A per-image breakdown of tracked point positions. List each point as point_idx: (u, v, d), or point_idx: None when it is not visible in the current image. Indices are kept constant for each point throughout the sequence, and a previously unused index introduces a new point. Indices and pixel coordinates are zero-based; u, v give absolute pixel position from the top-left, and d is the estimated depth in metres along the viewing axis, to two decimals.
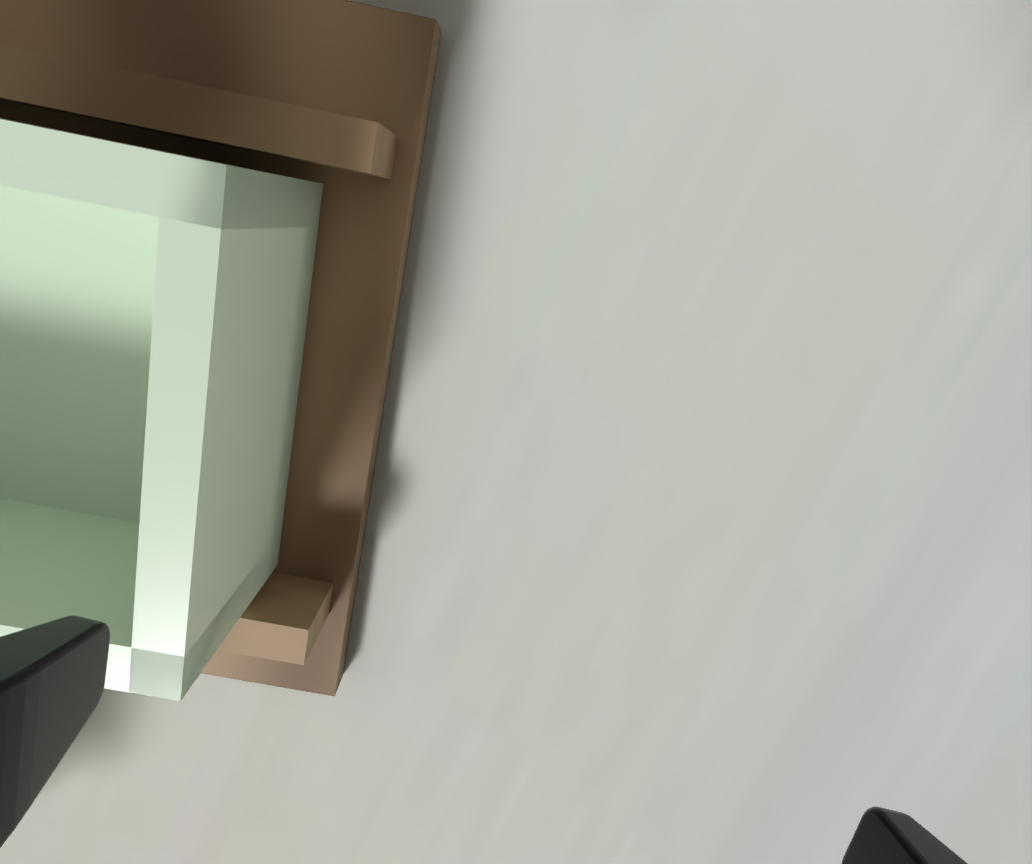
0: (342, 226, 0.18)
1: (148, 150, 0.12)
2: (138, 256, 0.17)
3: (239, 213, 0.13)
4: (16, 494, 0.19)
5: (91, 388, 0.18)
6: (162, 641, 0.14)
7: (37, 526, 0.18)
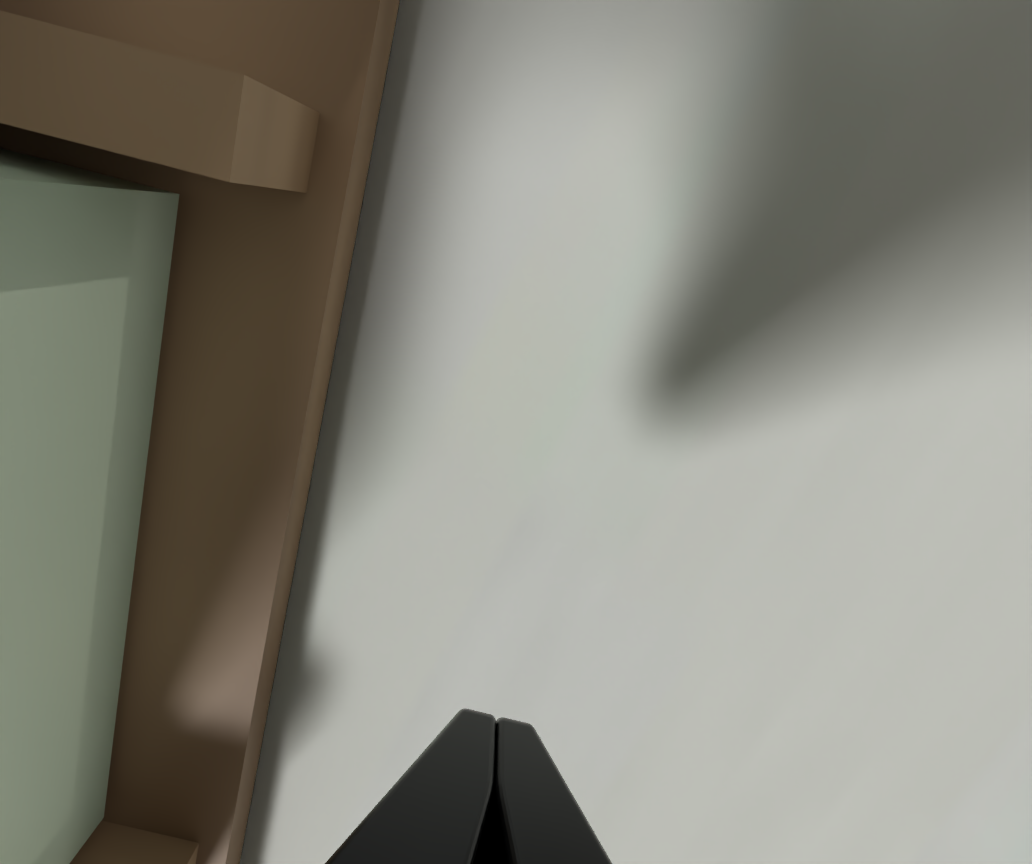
0: (217, 272, 0.10)
1: None
2: None
3: None
4: None
5: None
6: None
7: None
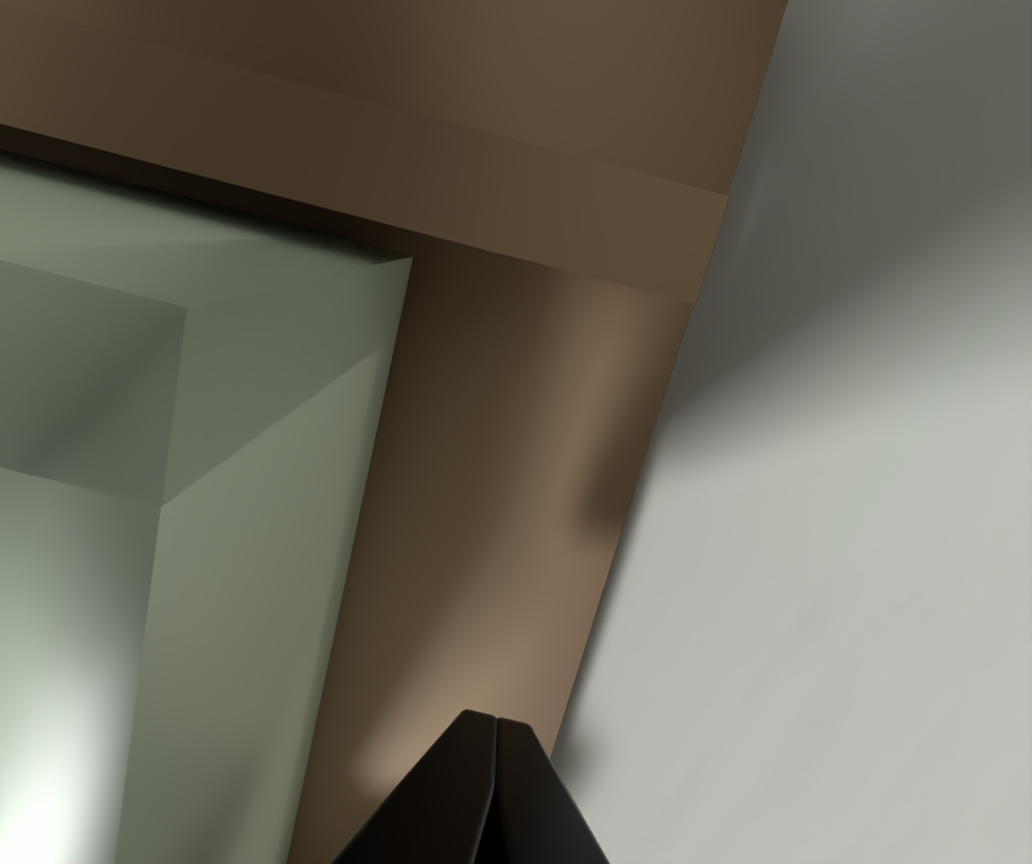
0: (553, 363, 0.10)
1: None
2: None
3: (233, 418, 0.04)
4: None
5: None
6: None
7: None
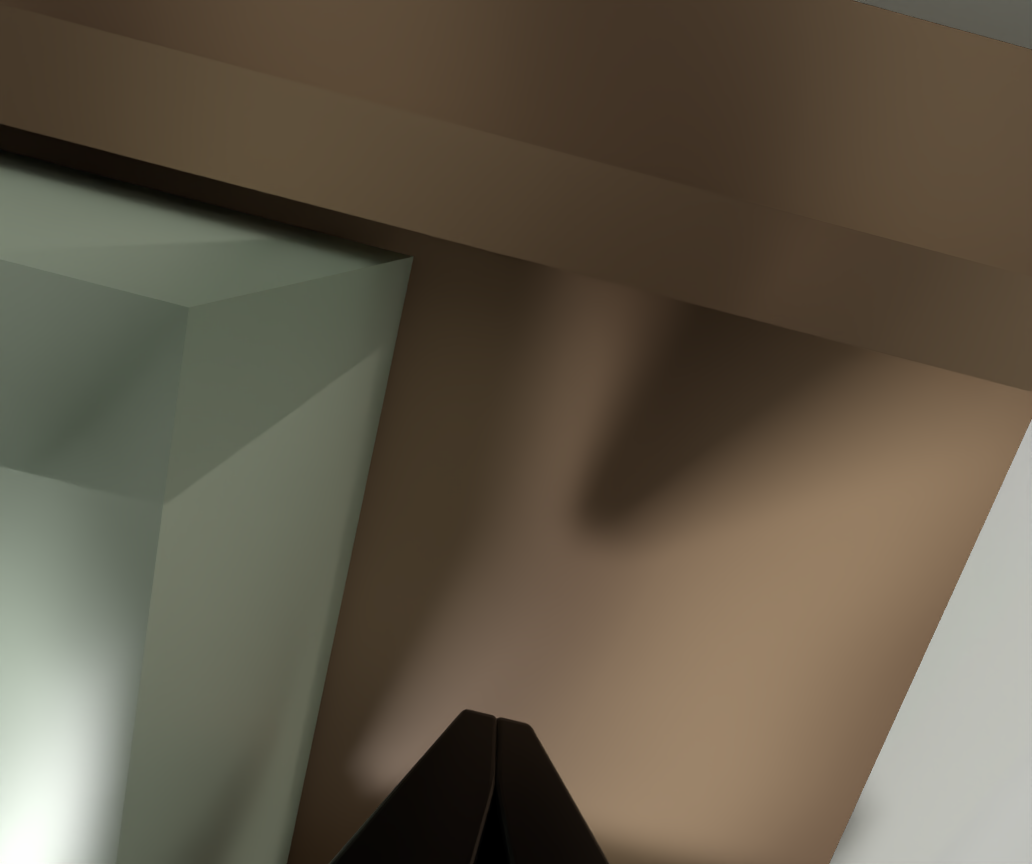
0: (895, 451, 0.10)
1: None
2: None
3: (234, 416, 0.04)
4: None
5: None
6: None
7: None
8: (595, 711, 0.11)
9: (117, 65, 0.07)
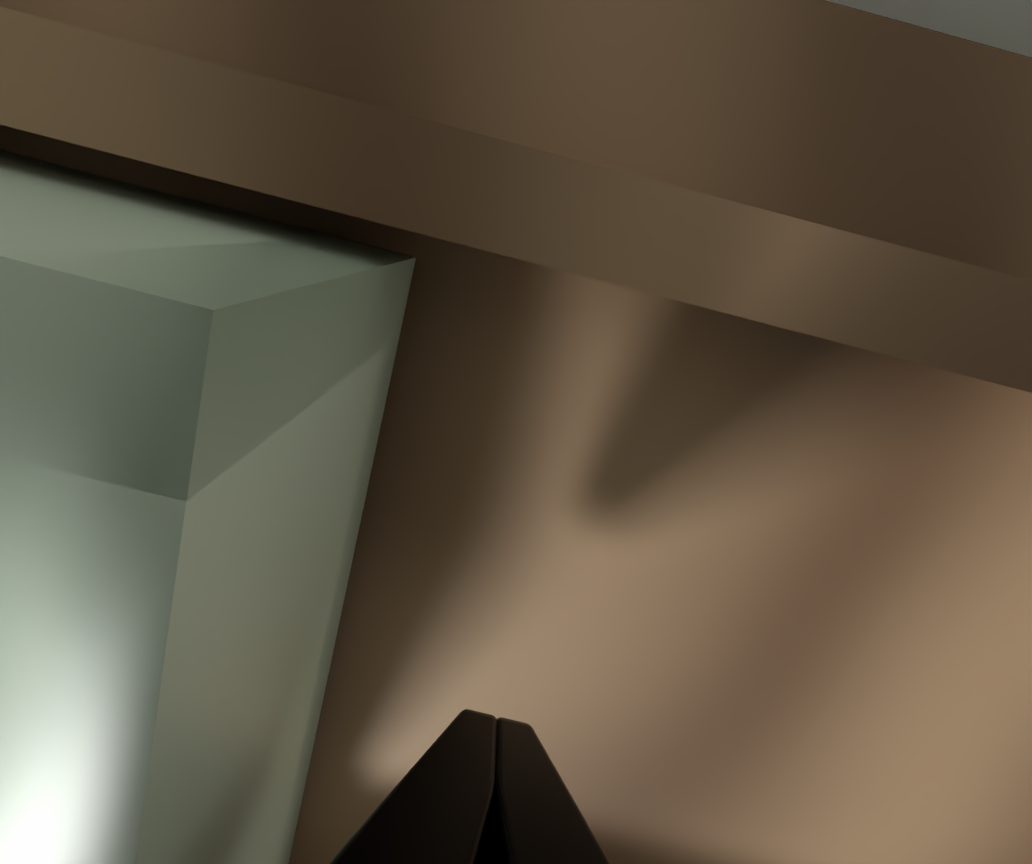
0: None
1: None
2: None
3: (250, 415, 0.04)
4: None
5: None
6: None
7: None
8: (813, 758, 0.11)
9: (496, 167, 0.07)
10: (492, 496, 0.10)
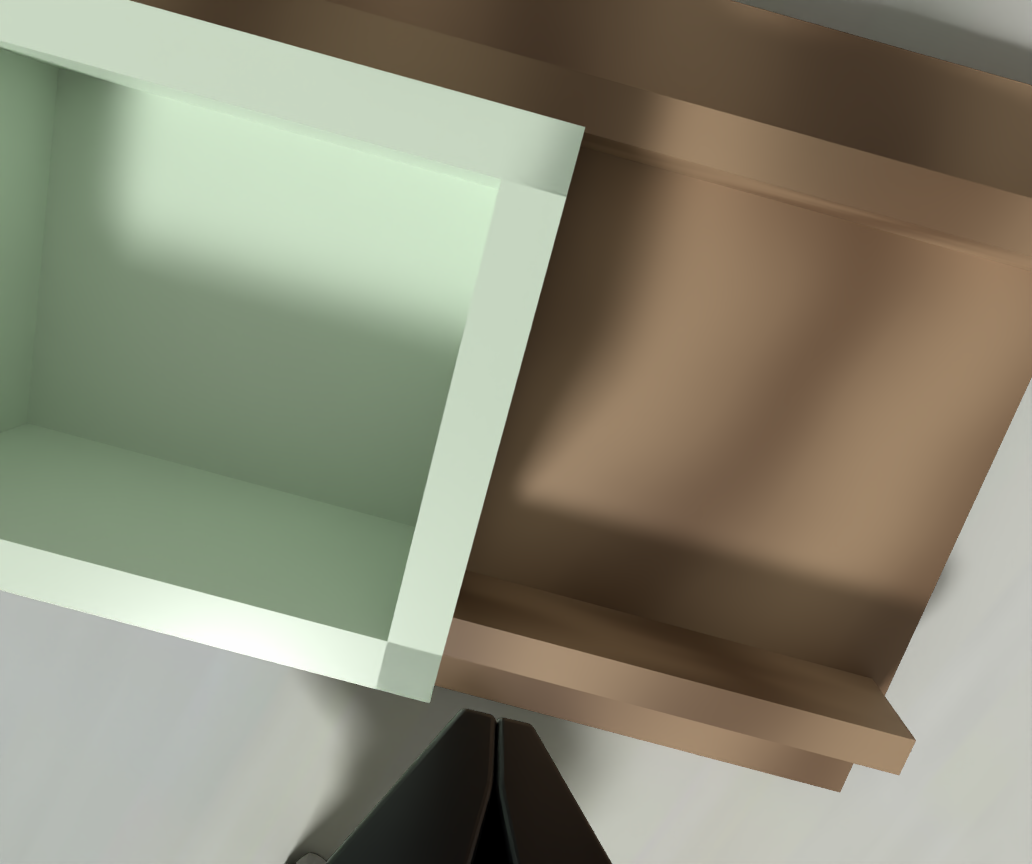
0: (987, 321, 0.17)
1: (503, 105, 0.11)
2: (380, 226, 0.16)
3: None
4: (216, 466, 0.18)
5: (311, 361, 0.17)
6: (420, 638, 0.13)
7: (245, 502, 0.17)
8: (798, 484, 0.19)
9: (639, 103, 0.14)
10: (608, 310, 0.18)
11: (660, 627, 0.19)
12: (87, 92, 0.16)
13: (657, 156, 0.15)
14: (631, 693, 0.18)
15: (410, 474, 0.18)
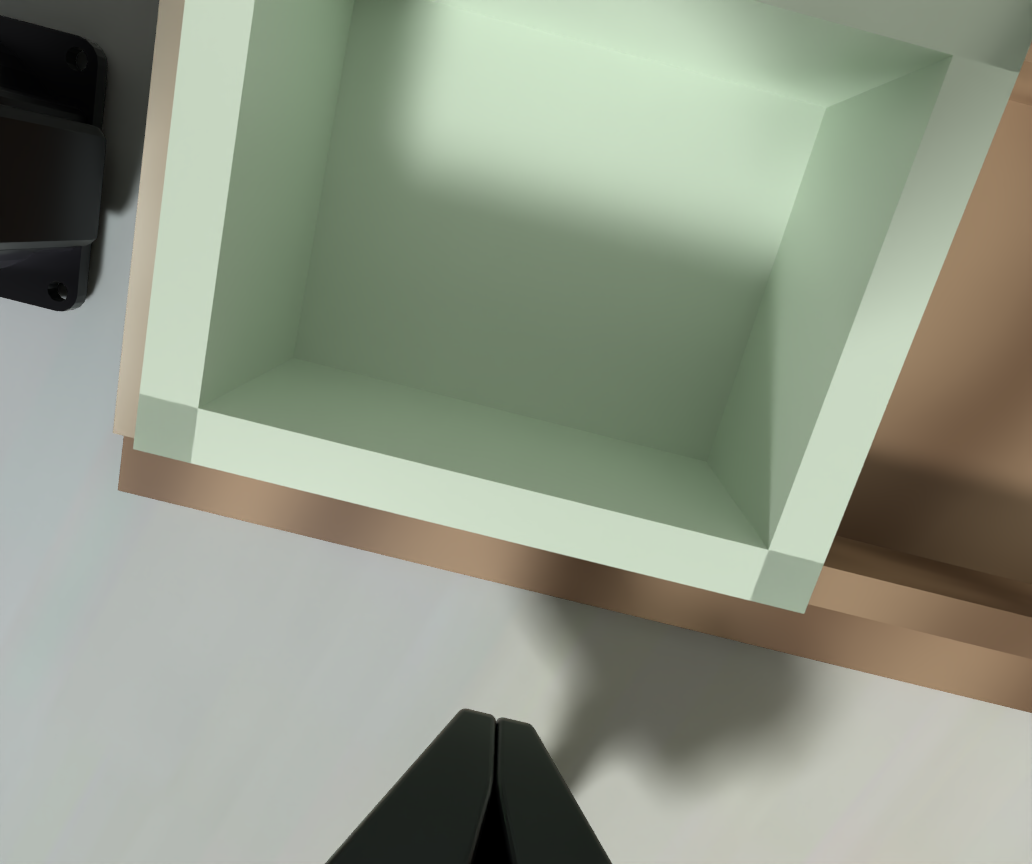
0: None
1: None
2: (680, 143, 0.16)
3: None
4: (488, 399, 0.17)
5: (596, 286, 0.17)
6: (803, 545, 0.13)
7: (535, 431, 0.17)
8: None
9: None
10: None
11: (916, 559, 0.19)
12: (385, 7, 0.15)
13: None
14: (917, 619, 0.17)
15: (688, 403, 0.17)
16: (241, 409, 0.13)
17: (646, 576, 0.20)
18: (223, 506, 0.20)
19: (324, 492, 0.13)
